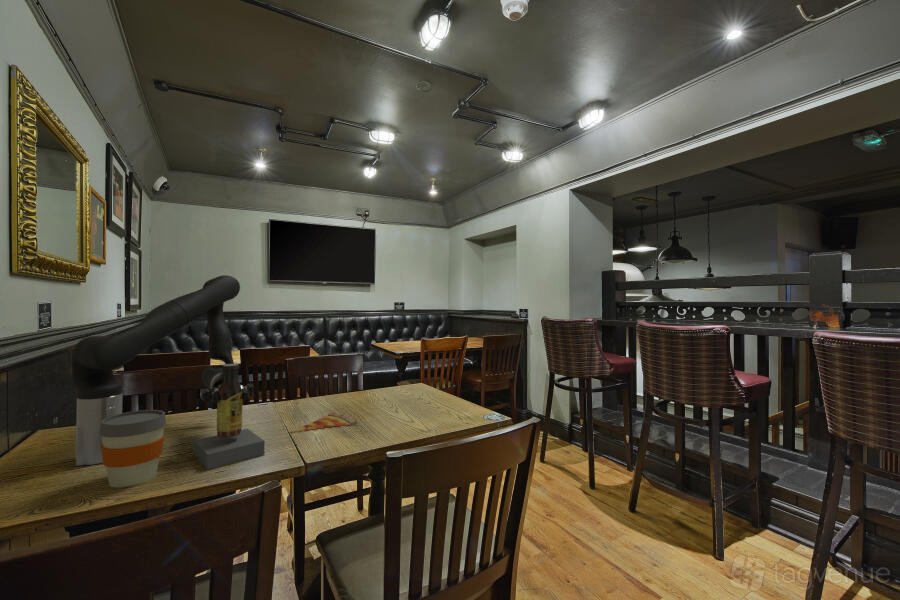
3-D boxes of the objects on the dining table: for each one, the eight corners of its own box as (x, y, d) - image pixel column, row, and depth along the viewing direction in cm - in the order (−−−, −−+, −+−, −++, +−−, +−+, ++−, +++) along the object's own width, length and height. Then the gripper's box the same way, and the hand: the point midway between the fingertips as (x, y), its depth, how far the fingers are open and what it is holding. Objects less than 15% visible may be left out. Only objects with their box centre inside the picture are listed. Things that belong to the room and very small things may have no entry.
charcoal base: (207, 470, 99) (207, 454, 99) (193, 454, 108) (194, 440, 109) (264, 454, 109) (264, 440, 109) (247, 441, 118) (247, 428, 118)
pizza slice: (287, 421, 141) (287, 415, 141) (349, 414, 150) (349, 409, 150) (289, 434, 126) (289, 428, 126) (357, 426, 136) (357, 420, 136)
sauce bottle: (234, 439, 106) (234, 367, 105) (211, 438, 106) (211, 366, 105) (247, 430, 112) (247, 362, 112) (225, 430, 112) (226, 362, 112)
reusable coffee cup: (171, 478, 94) (172, 416, 94) (102, 497, 85) (103, 429, 85) (158, 463, 102) (159, 406, 102) (95, 478, 93) (96, 417, 93)
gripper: (197, 376, 116) (200, 387, 103) (250, 371, 125) (260, 381, 111) (197, 400, 116) (200, 415, 103) (250, 394, 125) (259, 407, 111)
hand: (231, 397), depth 107 cm, fingers closed on sauce bottle, 6 cm apart
